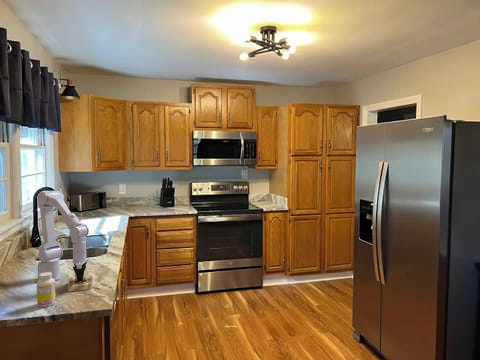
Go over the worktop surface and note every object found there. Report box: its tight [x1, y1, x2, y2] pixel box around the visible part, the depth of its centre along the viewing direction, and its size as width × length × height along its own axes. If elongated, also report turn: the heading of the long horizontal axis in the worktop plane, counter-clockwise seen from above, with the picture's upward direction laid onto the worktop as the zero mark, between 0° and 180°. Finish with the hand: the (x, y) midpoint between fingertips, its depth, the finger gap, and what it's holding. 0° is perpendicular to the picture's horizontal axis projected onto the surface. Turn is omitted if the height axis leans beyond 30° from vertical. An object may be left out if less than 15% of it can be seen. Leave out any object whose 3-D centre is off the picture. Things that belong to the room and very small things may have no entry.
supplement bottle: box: [36, 272, 57, 308], centre depth 147 cm, size 7×7×13 cm
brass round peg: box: [74, 272, 85, 283], centre depth 167 cm, size 4×4×7 cm
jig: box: [67, 275, 93, 293], centre depth 168 cm, size 10×12×2 cm
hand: (80, 279), depth 167 cm, fingers closed on brass round peg, 4 cm apart
